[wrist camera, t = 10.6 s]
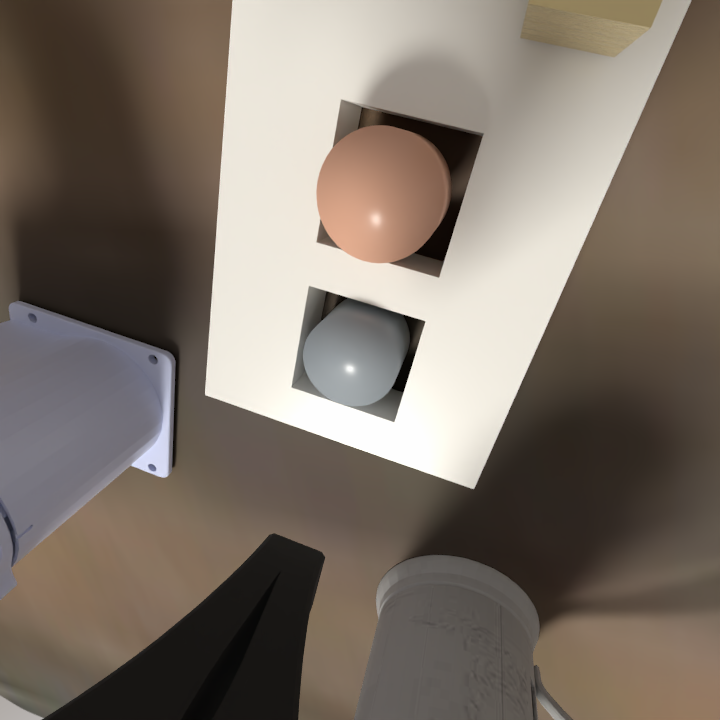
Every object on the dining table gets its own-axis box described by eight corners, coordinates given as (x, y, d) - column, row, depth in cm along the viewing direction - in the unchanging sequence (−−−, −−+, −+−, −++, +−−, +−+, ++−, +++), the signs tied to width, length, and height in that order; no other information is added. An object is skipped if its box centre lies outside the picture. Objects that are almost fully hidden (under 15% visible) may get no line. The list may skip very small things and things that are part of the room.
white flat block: (233, 370, 22) (203, 395, 20) (295, -230, 13) (252, -313, 11) (476, 453, 20) (473, 491, 18) (741, -170, 11) (805, -253, 9)
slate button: (320, 360, 20) (296, 388, 18) (335, 283, 18) (311, 303, 16) (397, 385, 20) (384, 418, 17) (420, 309, 18) (408, 334, 16)
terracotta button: (335, 230, 16) (307, 244, 14) (356, 118, 14) (328, 110, 12) (433, 258, 16) (422, 278, 13) (466, 145, 14) (461, 143, 11)
